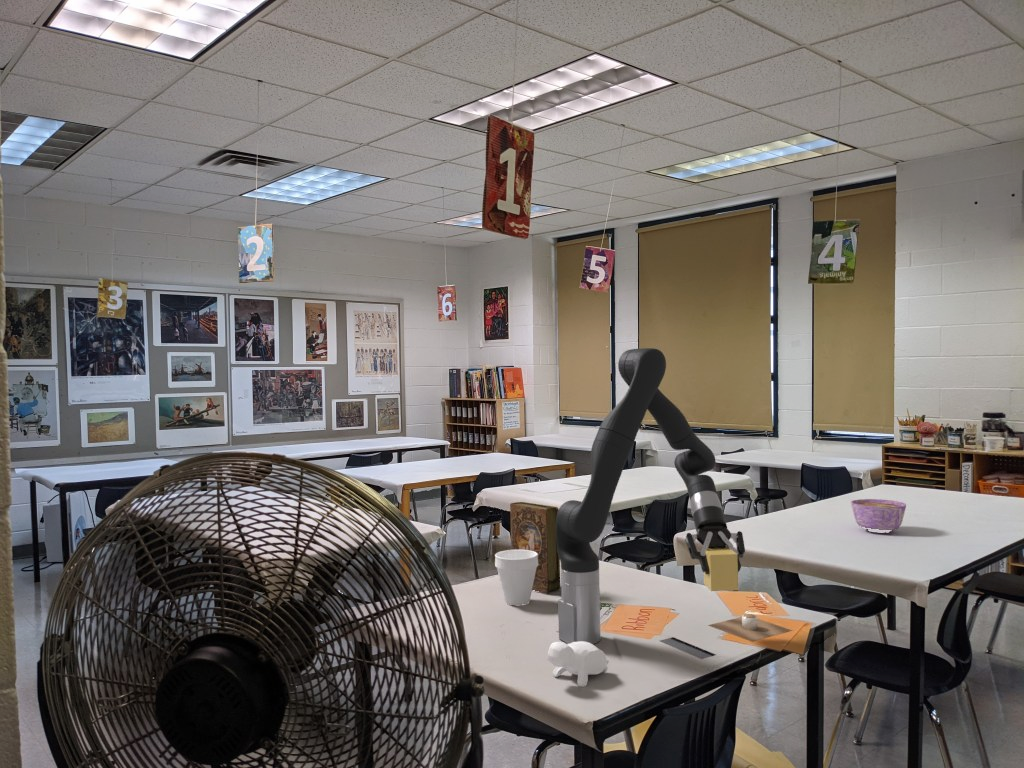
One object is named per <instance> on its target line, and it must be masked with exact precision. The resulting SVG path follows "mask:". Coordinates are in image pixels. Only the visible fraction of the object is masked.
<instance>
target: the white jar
mask: <svg viewBox="0 0 1024 768" xmlns="http://www.w3.org/2000/svg"><path fill="white" fill-rule="evenodd" d="M741 617H742V628H743V629H746V630H756V629H757V619H758V616H757V615H755V614H752V613H745V614H742V615H741Z"/></svg>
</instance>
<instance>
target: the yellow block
mask: <svg viewBox="0 0 1024 768" xmlns="http://www.w3.org/2000/svg"><path fill="white" fill-rule="evenodd" d="M705 552H706V555H705V556H706V557H707V561H708V565H709V574H705V572H703V584H704V585H705V586H706V587H707V589H708V590H710V592H724V591H728V592H729V591H739V572H738V559H737V553H735V552H734V551H733V550H729V549H726V548H713V549H707V551H705Z"/></svg>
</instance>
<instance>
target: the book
mask: <svg viewBox="0 0 1024 768" xmlns="http://www.w3.org/2000/svg"><path fill="white" fill-rule="evenodd" d="M509 510H510V515H509V516H510V550H530V551H534V552H536V553H537V554H538V566H537V568H536V572H535V577H534V582H533V587H532V590H535V591H534V592H536V591H539V592H538V593H540V592H542V593H541V594H545V593H546V594H548V593H549V592H553V591H558V590H560V589H561V561H560V559H559V556H558V552H557V539H556V516H557V513H558V510H559V507H558V506H553V505H547V504H540V503H539V504H538V503H534V502H525V501H517V502H511V503H510V505H509Z"/></svg>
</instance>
